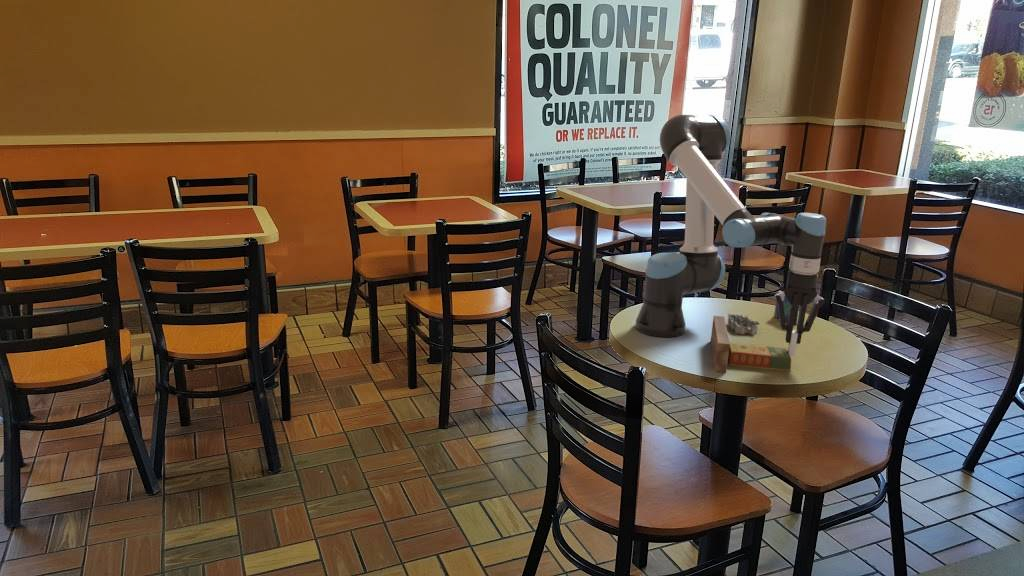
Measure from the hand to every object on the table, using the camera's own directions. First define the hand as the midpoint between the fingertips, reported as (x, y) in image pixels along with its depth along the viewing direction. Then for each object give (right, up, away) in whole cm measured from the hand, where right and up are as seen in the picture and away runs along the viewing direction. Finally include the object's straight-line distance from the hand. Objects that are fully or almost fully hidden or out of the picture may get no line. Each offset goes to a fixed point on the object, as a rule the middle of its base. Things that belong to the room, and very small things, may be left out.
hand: (790, 353), depth 203 cm
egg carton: (-5, +5, +28) cm, 29 cm away
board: (-19, -1, +4) cm, 19 cm away
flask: (+12, +7, +38) cm, 40 cm away
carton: (-9, -3, +1) cm, 9 cm away
